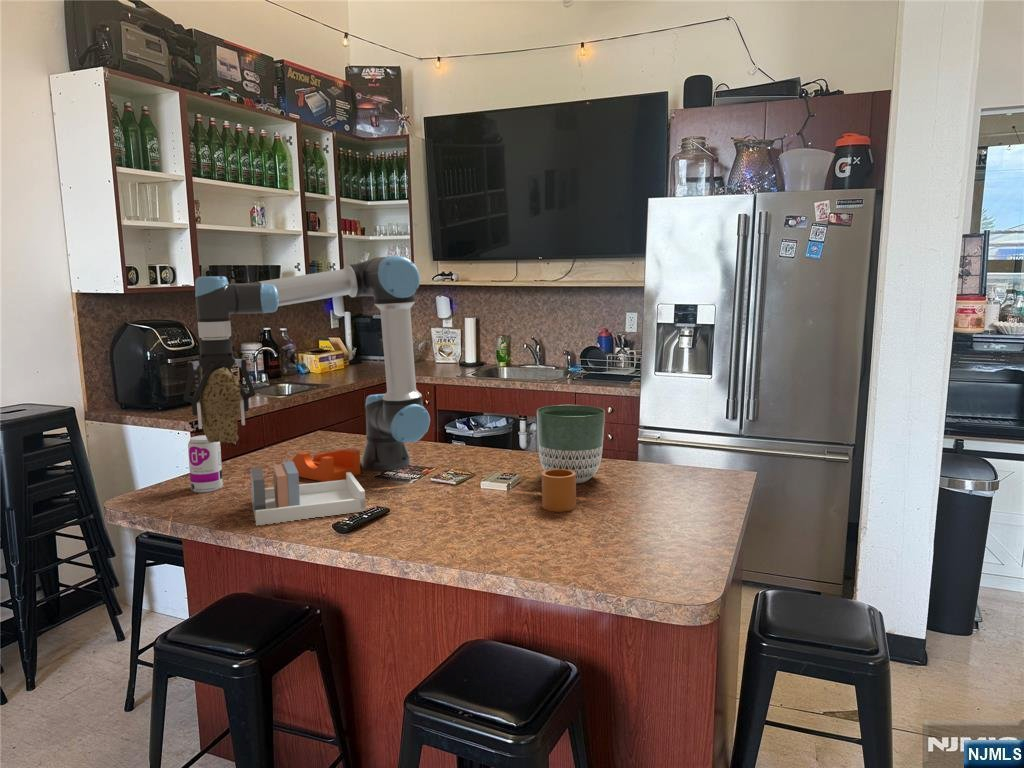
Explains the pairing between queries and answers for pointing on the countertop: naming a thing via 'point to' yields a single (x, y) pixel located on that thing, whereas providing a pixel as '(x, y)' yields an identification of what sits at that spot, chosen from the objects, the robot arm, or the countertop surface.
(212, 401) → the sponge
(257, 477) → the dark gray book
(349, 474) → the white tray
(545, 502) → the mug
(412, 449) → the countertop surface
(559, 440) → the planter
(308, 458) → the tape dispenser
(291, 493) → the book row
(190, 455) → the supplement can
